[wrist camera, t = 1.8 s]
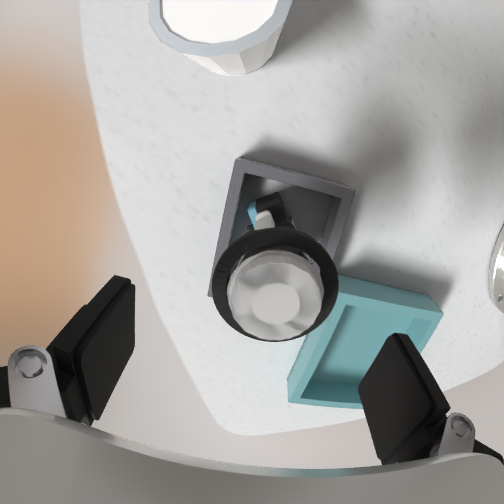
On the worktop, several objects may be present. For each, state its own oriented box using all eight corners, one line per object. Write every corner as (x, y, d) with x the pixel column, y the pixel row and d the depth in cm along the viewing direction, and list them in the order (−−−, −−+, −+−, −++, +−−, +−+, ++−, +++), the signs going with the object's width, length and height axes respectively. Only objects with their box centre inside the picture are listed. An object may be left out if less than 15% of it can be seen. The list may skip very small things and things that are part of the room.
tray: (428, 295, 22) (443, 313, 19) (373, 388, 26) (380, 409, 23) (331, 272, 21) (339, 292, 18) (287, 378, 26) (288, 402, 23)
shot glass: (174, 20, 15) (136, -21, 8) (267, -8, 14) (265, -62, 7) (200, 98, 17) (165, 78, 11) (299, 69, 16) (314, 34, 10)
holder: (347, 185, 19) (356, 191, 17) (307, 304, 22) (310, 321, 20) (238, 157, 19) (234, 159, 16) (212, 283, 22) (206, 298, 20)
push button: (325, 265, 21) (360, 355, 12) (258, 287, 22) (250, 385, 13) (296, 179, 19) (322, 217, 10) (223, 206, 20) (183, 267, 11)
